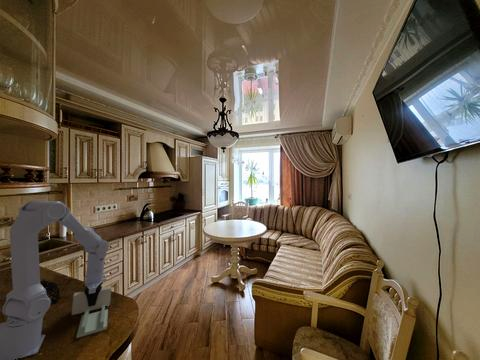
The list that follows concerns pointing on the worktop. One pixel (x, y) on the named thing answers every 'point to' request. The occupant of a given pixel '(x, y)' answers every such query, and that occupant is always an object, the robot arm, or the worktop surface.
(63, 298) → the worktop surface
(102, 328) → the rack
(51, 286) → the decorative element
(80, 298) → the beige rectangular block
